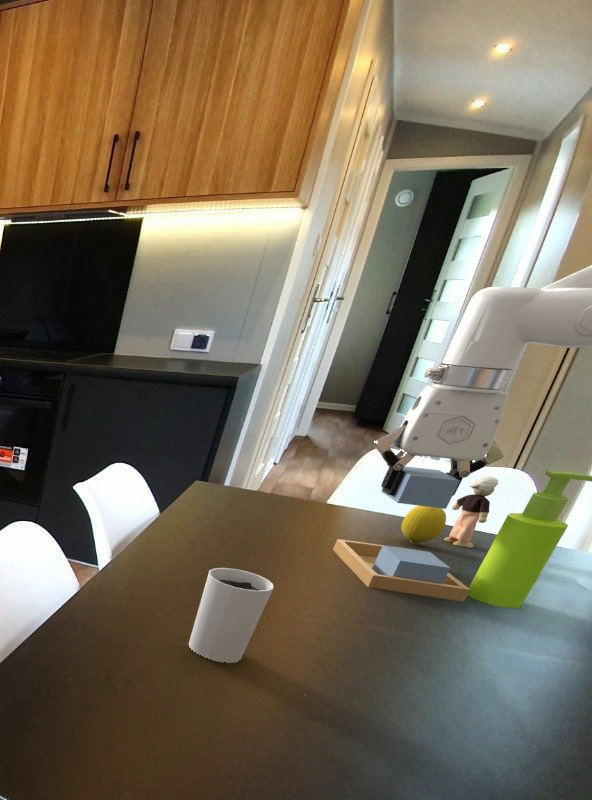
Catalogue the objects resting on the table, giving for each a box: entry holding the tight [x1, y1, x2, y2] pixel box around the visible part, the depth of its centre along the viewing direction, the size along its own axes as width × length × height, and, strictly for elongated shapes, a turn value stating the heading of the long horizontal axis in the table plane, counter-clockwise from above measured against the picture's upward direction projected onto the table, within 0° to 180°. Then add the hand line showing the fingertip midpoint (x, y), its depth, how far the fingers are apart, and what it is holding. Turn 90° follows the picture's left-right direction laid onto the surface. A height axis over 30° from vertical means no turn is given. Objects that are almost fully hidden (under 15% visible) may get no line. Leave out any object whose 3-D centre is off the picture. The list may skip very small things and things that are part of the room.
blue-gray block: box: [380, 465, 460, 510], centre depth 100 cm, size 6×7×4 cm
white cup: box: [188, 567, 274, 664], centre depth 78 cm, size 7×7×10 cm
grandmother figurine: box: [443, 476, 499, 549], centre depth 116 cm, size 8×4×13 cm, turn 179°
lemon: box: [400, 505, 447, 545], centre depth 116 cm, size 6×6×8 cm
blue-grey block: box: [372, 545, 451, 584], centre depth 99 cm, size 6×7×4 cm
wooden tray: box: [332, 538, 470, 603], centre depth 103 cm, size 12×17×2 cm
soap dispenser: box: [467, 470, 592, 609], centre depth 91 cm, size 6×7×20 cm
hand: (414, 495), depth 101 cm, fingers closed on blue-gray block, 6 cm apart
